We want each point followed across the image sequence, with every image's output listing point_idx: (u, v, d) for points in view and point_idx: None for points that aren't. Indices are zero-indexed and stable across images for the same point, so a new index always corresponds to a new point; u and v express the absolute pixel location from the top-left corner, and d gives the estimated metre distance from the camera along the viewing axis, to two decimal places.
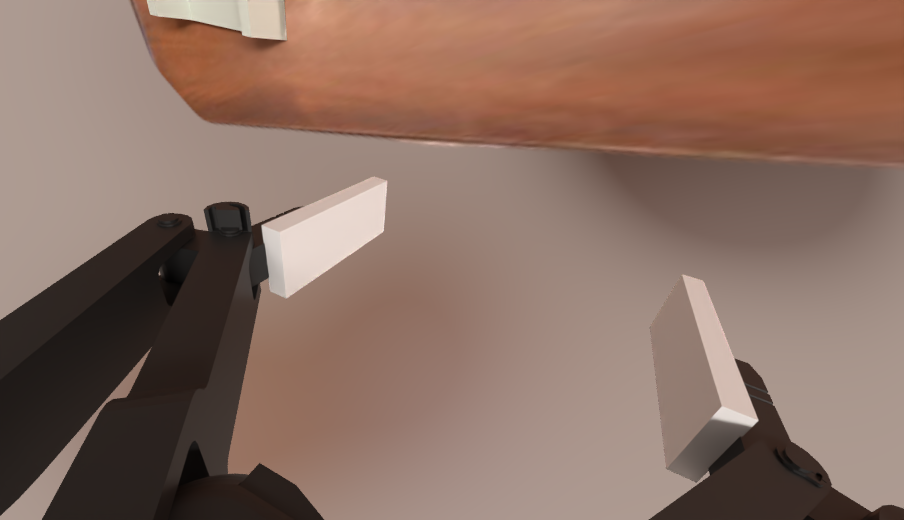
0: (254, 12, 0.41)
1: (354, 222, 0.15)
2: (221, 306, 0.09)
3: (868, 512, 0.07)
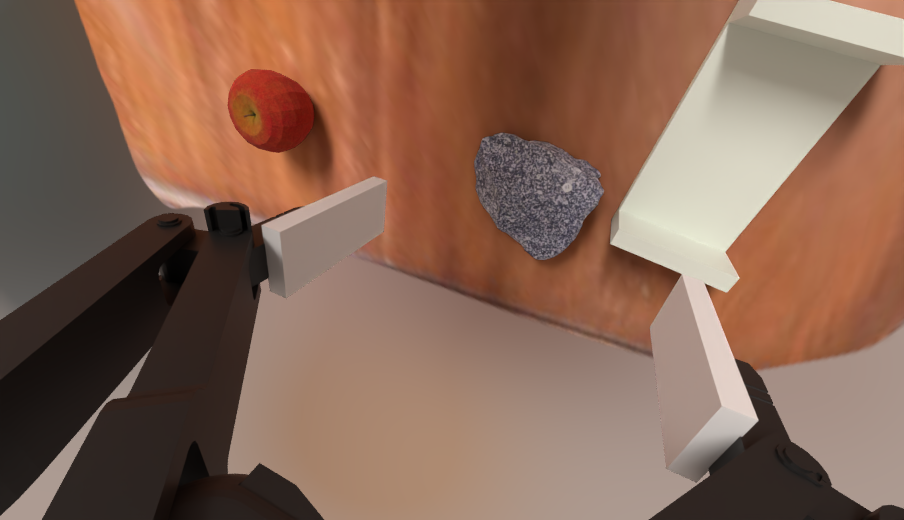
0: None
1: (354, 222, 0.15)
2: (221, 306, 0.09)
3: (868, 512, 0.07)
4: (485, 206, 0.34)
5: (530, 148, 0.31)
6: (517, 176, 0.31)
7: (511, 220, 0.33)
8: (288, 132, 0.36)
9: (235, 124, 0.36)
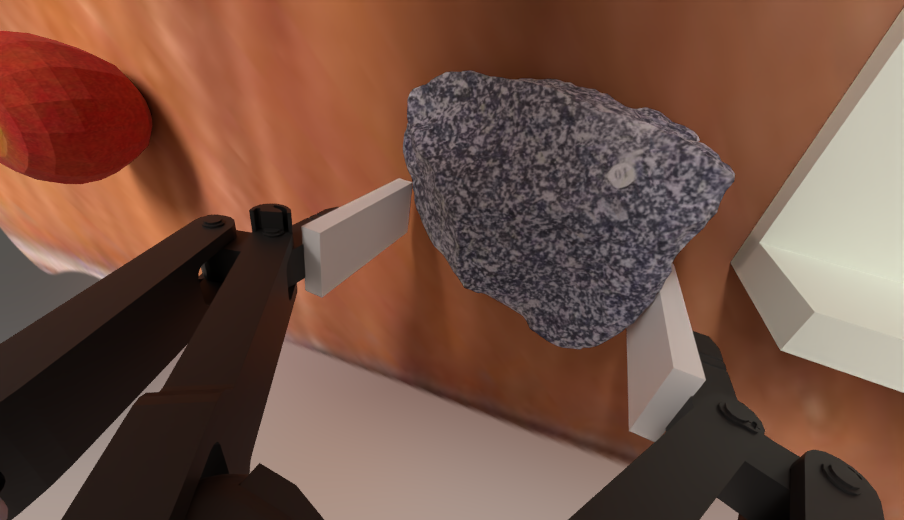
0: None
1: (382, 223, 0.16)
2: (256, 306, 0.09)
3: (796, 458, 0.08)
4: (433, 240, 0.16)
5: (514, 92, 0.13)
6: (490, 164, 0.13)
7: (489, 267, 0.14)
8: (68, 144, 0.19)
9: None
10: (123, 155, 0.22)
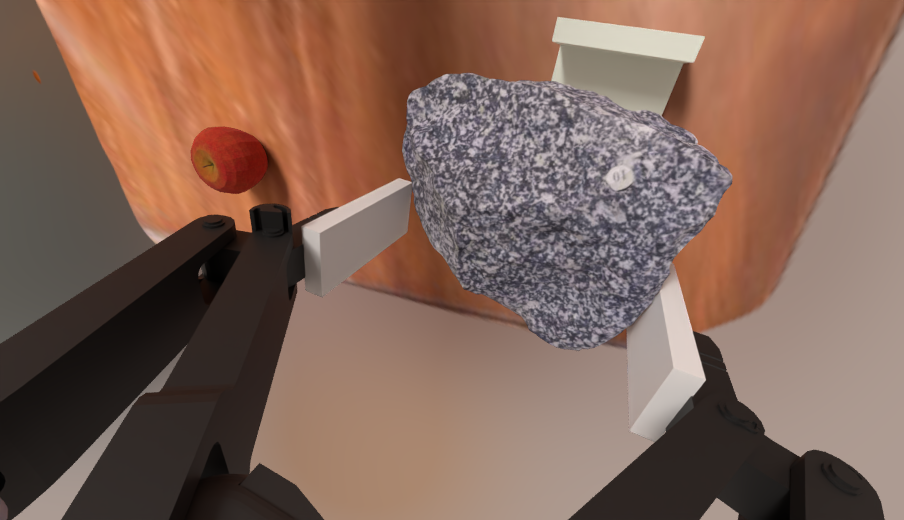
0: None
1: (382, 223, 0.16)
2: (256, 306, 0.09)
3: (796, 458, 0.08)
4: (432, 241, 0.16)
5: (513, 94, 0.13)
6: (489, 166, 0.13)
7: (488, 269, 0.14)
8: (241, 175, 0.42)
9: (199, 174, 0.43)
10: (258, 179, 0.45)
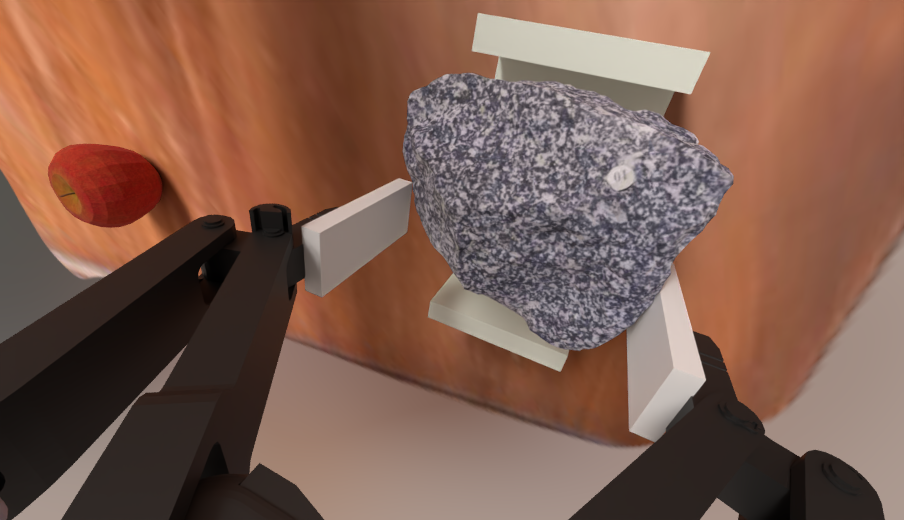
0: None
1: (382, 223, 0.16)
2: (256, 306, 0.09)
3: (796, 458, 0.08)
4: (433, 242, 0.16)
5: (513, 94, 0.13)
6: (489, 166, 0.13)
7: (488, 269, 0.14)
8: (115, 207, 0.33)
9: (62, 203, 0.34)
10: (145, 209, 0.36)
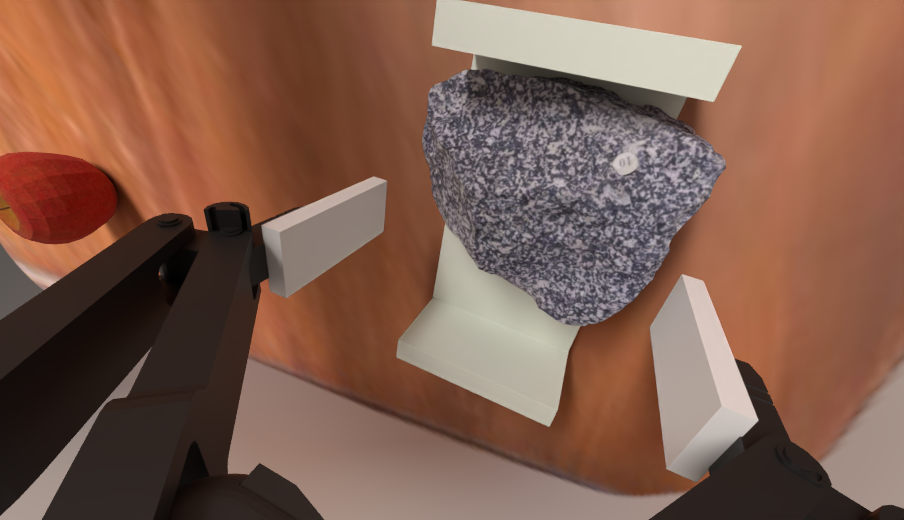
0: None
1: (354, 222, 0.15)
2: (221, 306, 0.09)
3: (868, 512, 0.07)
4: (450, 225, 0.17)
5: (528, 89, 0.14)
6: (506, 154, 0.14)
7: (502, 249, 0.15)
8: (58, 222, 0.30)
9: None
10: (96, 223, 0.33)
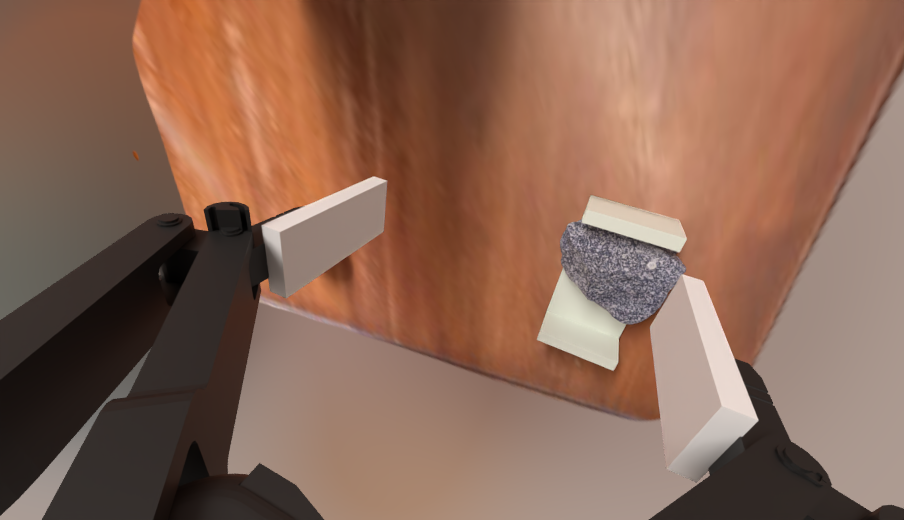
0: (657, 227, 0.34)
1: (354, 222, 0.15)
2: (221, 306, 0.09)
3: (868, 512, 0.07)
4: (573, 280, 0.39)
5: (614, 232, 0.37)
6: (604, 256, 0.37)
7: (599, 292, 0.38)
8: None
9: None
10: None
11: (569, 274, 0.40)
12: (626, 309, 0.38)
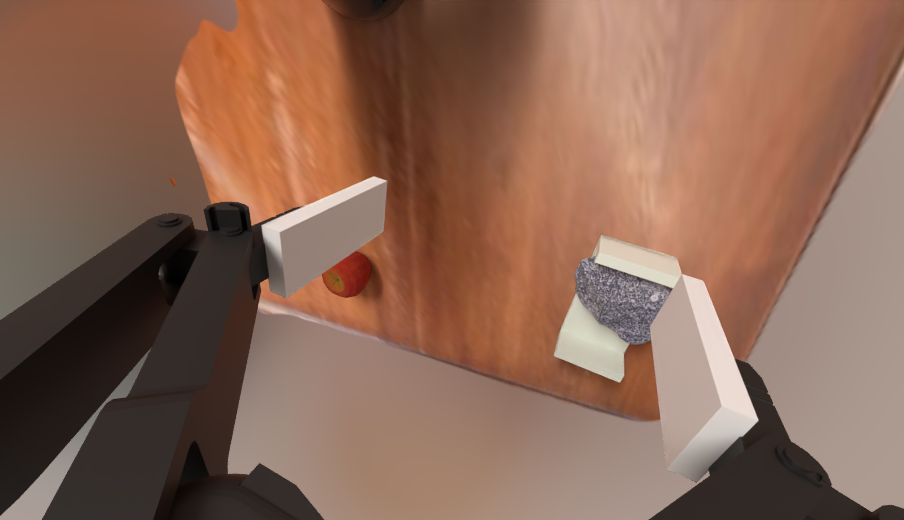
0: (658, 267, 0.40)
1: (354, 222, 0.15)
2: (221, 306, 0.09)
3: (868, 512, 0.07)
4: (587, 307, 0.46)
5: None
6: (614, 289, 0.43)
7: (609, 318, 0.45)
8: (359, 288, 0.59)
9: (326, 285, 0.60)
10: (365, 285, 0.62)
11: (583, 301, 0.47)
12: (632, 332, 0.45)
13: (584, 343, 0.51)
